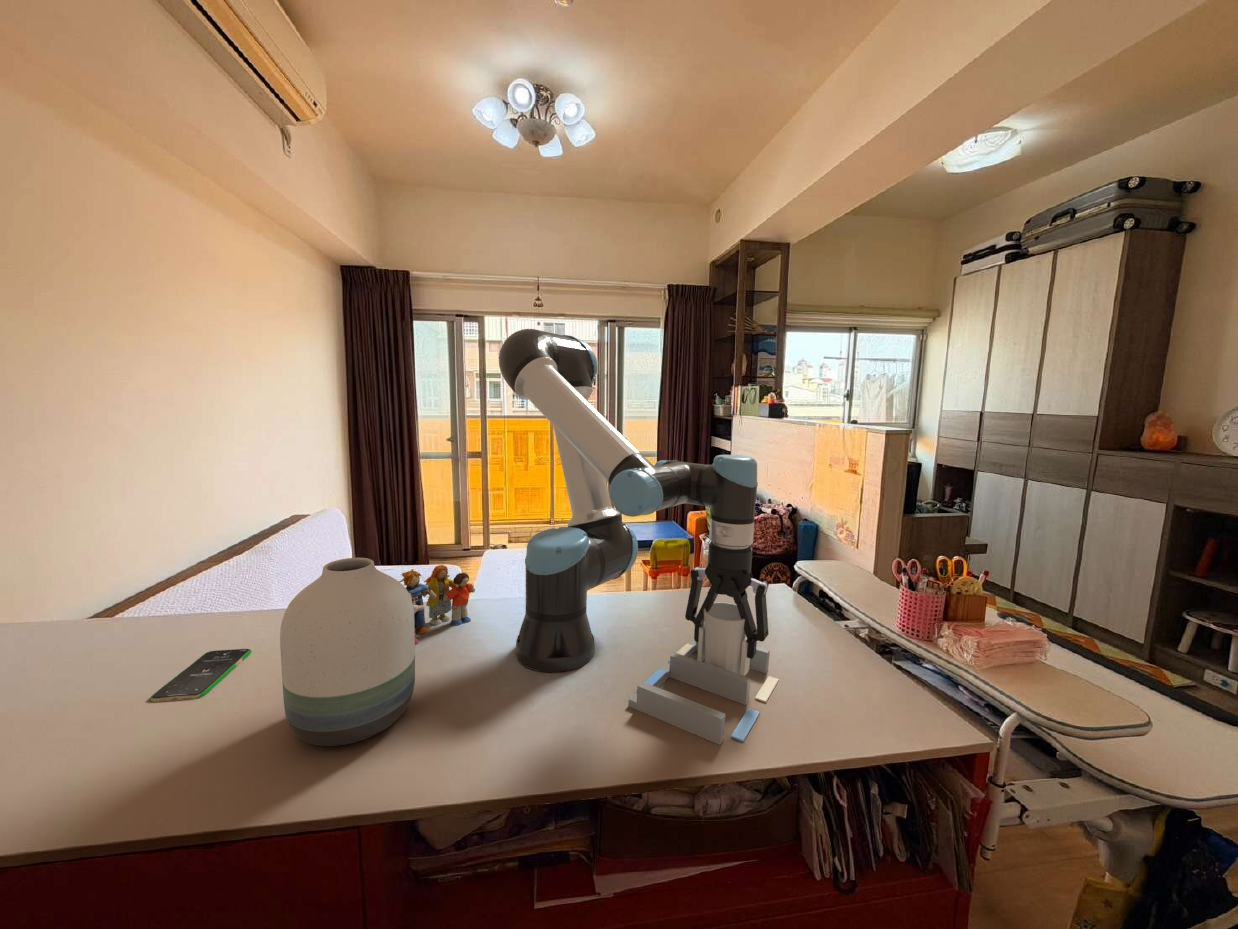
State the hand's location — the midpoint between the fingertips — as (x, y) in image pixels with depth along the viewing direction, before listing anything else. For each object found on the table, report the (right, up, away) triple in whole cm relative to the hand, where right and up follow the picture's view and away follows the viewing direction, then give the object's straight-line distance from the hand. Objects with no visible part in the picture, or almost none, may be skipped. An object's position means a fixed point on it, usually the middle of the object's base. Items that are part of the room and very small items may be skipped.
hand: (722, 665), depth 87 cm
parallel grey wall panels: (-4, -2, -4) cm, 6 cm away
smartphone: (-90, 0, -5) cm, 90 cm away
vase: (-58, -2, -16) cm, 60 cm away
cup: (0, -2, 0) cm, 2 cm away
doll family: (-60, +2, +14) cm, 61 cm away
